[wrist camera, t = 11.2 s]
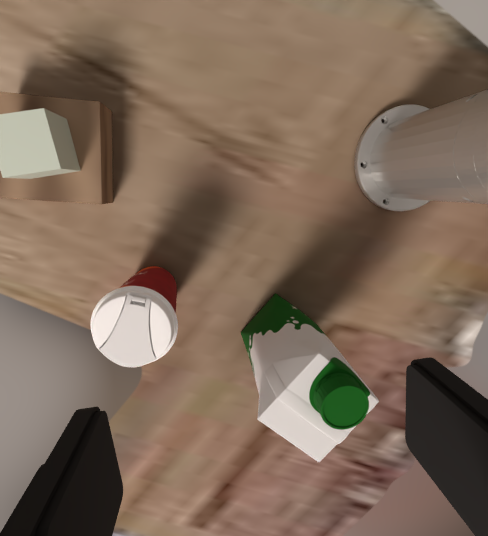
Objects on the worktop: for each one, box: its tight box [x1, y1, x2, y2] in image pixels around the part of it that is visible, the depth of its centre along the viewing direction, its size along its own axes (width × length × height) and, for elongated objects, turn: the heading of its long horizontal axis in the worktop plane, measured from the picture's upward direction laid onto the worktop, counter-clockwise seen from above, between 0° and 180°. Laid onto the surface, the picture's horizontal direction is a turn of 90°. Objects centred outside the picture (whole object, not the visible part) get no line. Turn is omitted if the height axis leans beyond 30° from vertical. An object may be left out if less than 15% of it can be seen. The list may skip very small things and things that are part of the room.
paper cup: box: [91, 266, 178, 367], centre depth 37 cm, size 8×8×14 cm
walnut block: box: [0, 92, 113, 204], centre depth 37 cm, size 10×10×5 cm
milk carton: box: [241, 294, 379, 462], centre depth 37 cm, size 9×9×20 cm
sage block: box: [0, 108, 81, 179], centre depth 32 cm, size 5×5×5 cm
